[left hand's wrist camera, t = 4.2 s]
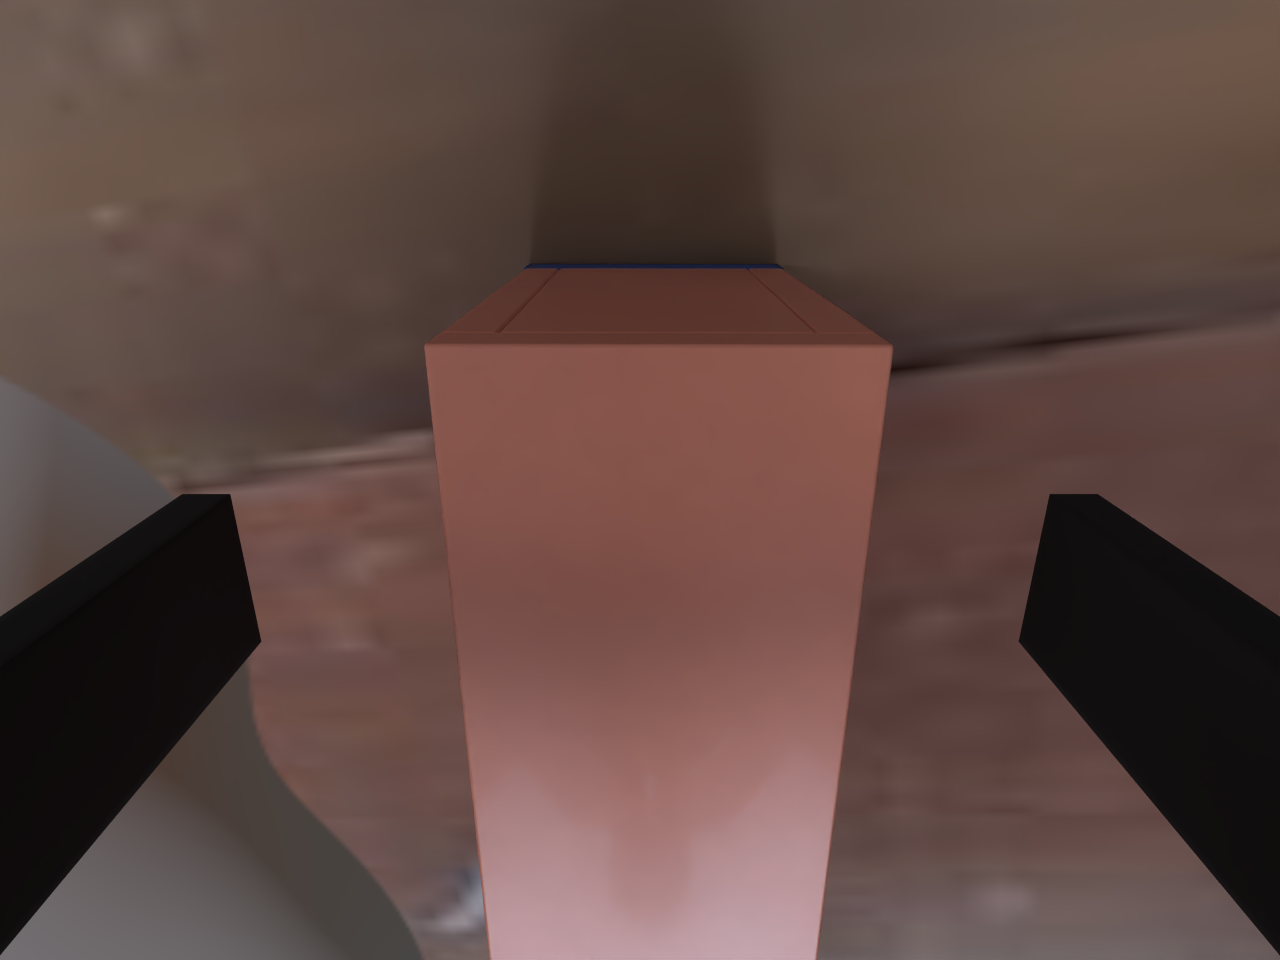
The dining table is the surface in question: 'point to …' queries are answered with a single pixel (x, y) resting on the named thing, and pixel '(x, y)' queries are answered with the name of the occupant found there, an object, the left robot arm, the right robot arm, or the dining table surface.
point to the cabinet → (656, 599)
